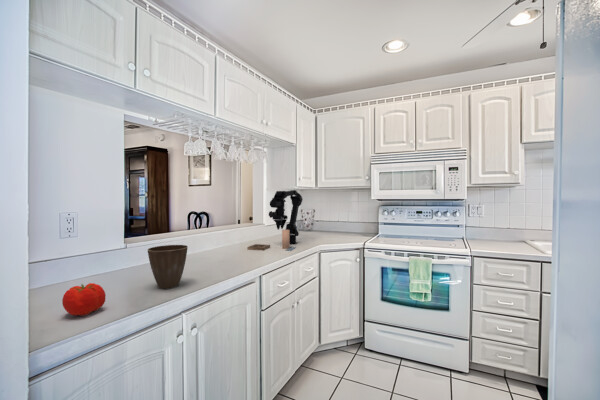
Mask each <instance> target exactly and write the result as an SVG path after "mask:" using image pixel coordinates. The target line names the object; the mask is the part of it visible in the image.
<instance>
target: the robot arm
mask: <svg viewBox="0 0 600 400" xmlns="http://www.w3.org/2000/svg"><path fill="white" fill-rule="evenodd" d="M288 197H289V198H290V200H291V205H292V208H291V213H290V218H289V217H288V215H286V214H285V211H286V209H285V203H286V202H287V201H286V198H288ZM302 203H303V197H302V195H301V194H300V193H299V192H298V191H297V190H296V189H291V190H277V191H276V192H275V193H274V196H273V197H272V198H271V200H270V202H269V206H270V208H273V209H275V211H272V210H270V211H269V212H268V216H269V218H270V219H271V218H272V220H273V222H274V223H275V225H276V229H277V230H280V229H281V230H284V229H283V228H284V226H285V225H286V226H285V230H289V235H290V244H291V245H295V244H298V242H297V237H298V236H299V234H300V232H299V230H298V229H297V228H298V226H297V224H296V223H297V217H298V213H299V212H298V211H299V208H300V206H301V205H302ZM288 218H289V223H286V222H287V220H288Z"/></svg>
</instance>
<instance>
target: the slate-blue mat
mask: <svg viewBox="0 0 600 400" xmlns="http://www.w3.org/2000/svg"><path fill="white" fill-rule="evenodd" d="M295 249H296V247H295V246H291V247H290V248H289V249H284V251H285V252H286V251H289V252H291V251H293V250H295Z"/></svg>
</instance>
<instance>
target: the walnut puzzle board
mask: <svg viewBox="0 0 600 400" xmlns="http://www.w3.org/2000/svg"><path fill="white" fill-rule="evenodd" d="M270 248H271V244H261V243H259V244H258V243H254V244H252V245H249V246H247V249H246V250H247V251H248V250H249V251H265V250H267V249H270Z"/></svg>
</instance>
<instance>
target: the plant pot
mask: <svg viewBox="0 0 600 400" xmlns="http://www.w3.org/2000/svg"><path fill="white" fill-rule="evenodd" d="M147 255H148V260H149V263H150V264H149V265H150V270H151V272H152V274H153V277H154V280H155V282H156V283H155V284H157V285H156V286H157V287H158V288H159V289H161V290H169V289H174V288H177V287H178V286H179V284H180V282H181V279H182V276H183V273H184V269H185V265H186V261H187V255H188V245H185V244H168V245H167V244H166V245H165V244H164V245H158V246H153V247H150V248H147Z"/></svg>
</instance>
